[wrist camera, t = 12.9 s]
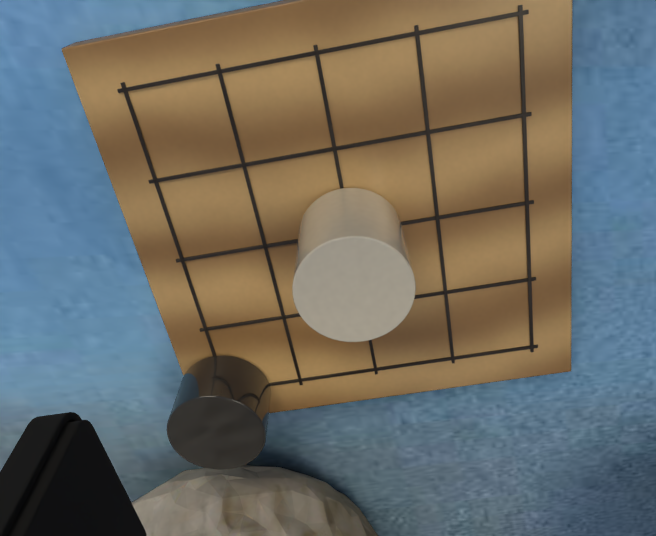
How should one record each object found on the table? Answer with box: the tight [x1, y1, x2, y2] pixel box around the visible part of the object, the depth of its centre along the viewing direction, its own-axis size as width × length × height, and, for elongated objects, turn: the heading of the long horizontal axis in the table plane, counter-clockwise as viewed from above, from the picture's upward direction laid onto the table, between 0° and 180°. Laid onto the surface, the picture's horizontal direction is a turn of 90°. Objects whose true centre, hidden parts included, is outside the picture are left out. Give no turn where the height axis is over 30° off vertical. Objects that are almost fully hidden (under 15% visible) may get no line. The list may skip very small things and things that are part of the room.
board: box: [62, 0, 572, 413], centre depth 29 cm, size 20×20×2 cm
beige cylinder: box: [292, 188, 416, 342], centre depth 26 cm, size 5×5×5 cm
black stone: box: [167, 355, 271, 470], centre depth 31 cm, size 5×5×3 cm
